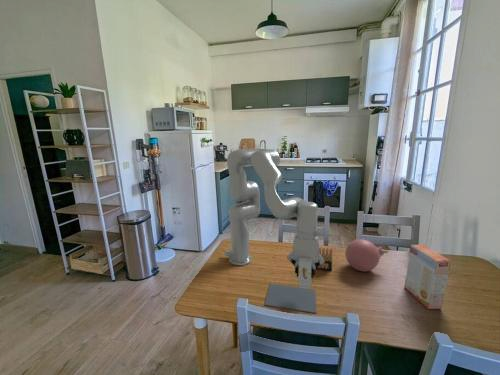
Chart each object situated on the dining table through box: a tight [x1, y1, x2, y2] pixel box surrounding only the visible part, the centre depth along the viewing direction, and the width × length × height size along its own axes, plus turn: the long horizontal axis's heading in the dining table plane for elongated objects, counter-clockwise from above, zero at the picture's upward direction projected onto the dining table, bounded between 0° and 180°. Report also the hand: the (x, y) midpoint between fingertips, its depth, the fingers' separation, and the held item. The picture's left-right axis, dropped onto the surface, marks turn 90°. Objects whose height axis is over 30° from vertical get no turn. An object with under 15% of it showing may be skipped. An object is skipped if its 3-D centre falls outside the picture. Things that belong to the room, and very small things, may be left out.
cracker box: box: [404, 244, 452, 310], centre depth 98 cm, size 14×6×21 cm, turn 2°
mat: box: [264, 283, 317, 314], centre depth 101 cm, size 20×14×1 cm
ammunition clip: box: [315, 246, 333, 272], centre depth 120 cm, size 11×2×12 cm, turn 79°
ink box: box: [297, 258, 312, 289], centre depth 96 cm, size 9×5×12 cm, turn 167°
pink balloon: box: [345, 238, 388, 272], centre depth 120 cm, size 15×20×15 cm
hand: (304, 275), depth 97 cm, fingers closed on ink box, 5 cm apart
